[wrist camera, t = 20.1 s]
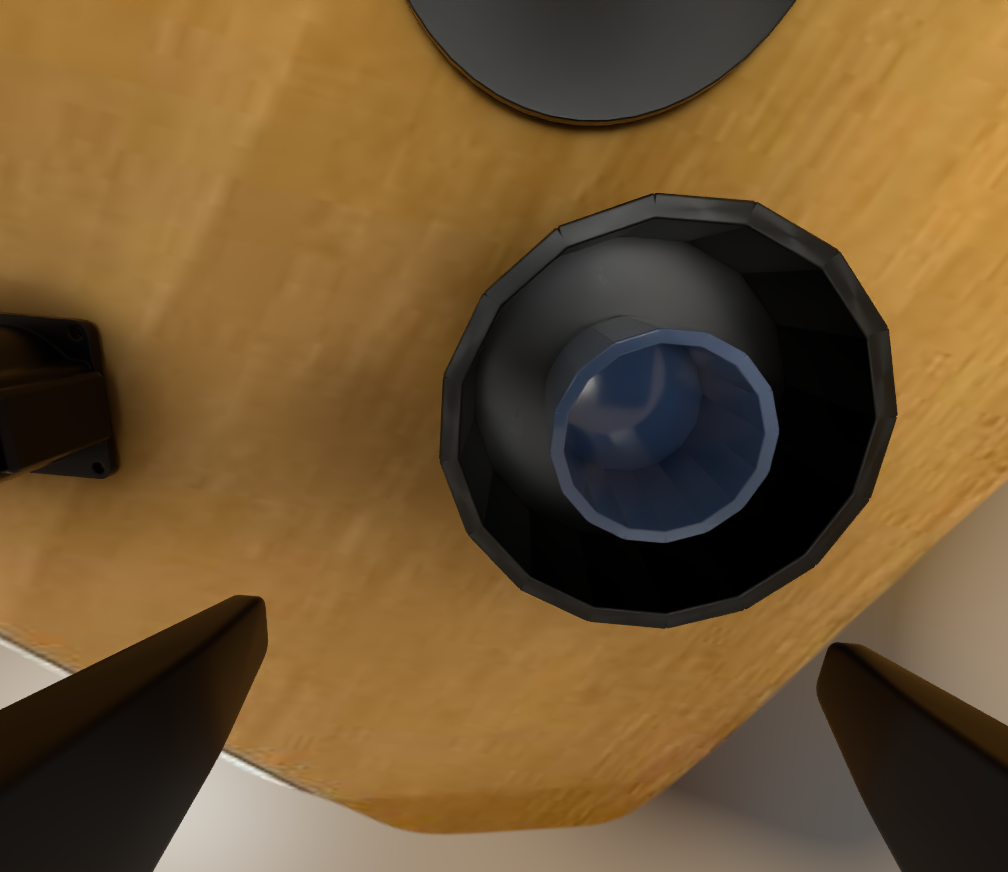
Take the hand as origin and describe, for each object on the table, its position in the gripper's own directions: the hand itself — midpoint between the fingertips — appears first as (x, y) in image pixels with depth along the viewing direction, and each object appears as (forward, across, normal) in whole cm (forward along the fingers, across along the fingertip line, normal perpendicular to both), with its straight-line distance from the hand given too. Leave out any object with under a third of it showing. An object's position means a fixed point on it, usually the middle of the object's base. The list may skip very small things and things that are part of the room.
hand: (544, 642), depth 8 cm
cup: (+12, -4, -2) cm, 13 cm away
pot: (+13, -4, -1) cm, 13 cm away
